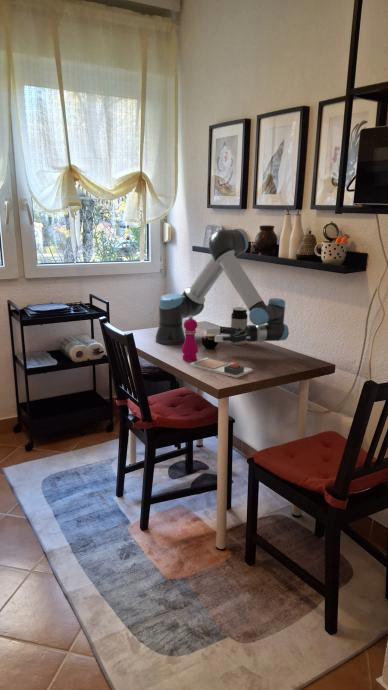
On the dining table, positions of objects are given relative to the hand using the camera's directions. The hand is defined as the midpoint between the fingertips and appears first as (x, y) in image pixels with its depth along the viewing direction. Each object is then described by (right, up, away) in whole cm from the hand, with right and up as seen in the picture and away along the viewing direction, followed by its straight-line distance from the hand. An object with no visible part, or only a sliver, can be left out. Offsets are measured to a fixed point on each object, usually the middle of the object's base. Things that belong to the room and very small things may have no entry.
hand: (210, 334), depth 225 cm
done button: (+9, -14, -19) cm, 25 cm away
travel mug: (+15, -4, +30) cm, 34 cm away
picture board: (+4, -14, -11) cm, 19 cm away
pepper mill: (-9, -11, +1) cm, 15 cm away
